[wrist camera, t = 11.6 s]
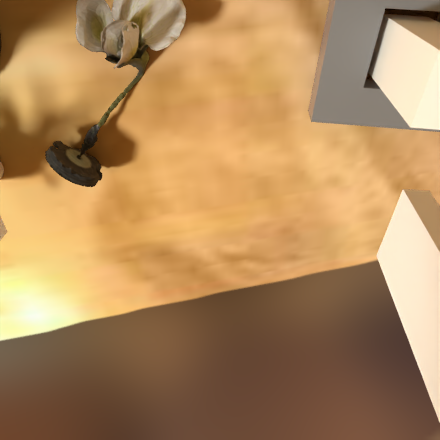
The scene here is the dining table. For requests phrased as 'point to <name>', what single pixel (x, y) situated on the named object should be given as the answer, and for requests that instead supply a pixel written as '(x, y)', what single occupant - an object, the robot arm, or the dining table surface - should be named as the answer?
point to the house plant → (1, 170)
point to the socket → (356, 65)
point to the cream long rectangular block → (409, 67)
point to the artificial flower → (121, 55)
